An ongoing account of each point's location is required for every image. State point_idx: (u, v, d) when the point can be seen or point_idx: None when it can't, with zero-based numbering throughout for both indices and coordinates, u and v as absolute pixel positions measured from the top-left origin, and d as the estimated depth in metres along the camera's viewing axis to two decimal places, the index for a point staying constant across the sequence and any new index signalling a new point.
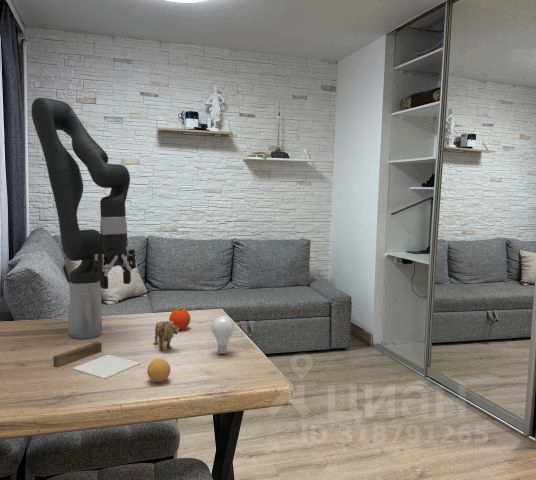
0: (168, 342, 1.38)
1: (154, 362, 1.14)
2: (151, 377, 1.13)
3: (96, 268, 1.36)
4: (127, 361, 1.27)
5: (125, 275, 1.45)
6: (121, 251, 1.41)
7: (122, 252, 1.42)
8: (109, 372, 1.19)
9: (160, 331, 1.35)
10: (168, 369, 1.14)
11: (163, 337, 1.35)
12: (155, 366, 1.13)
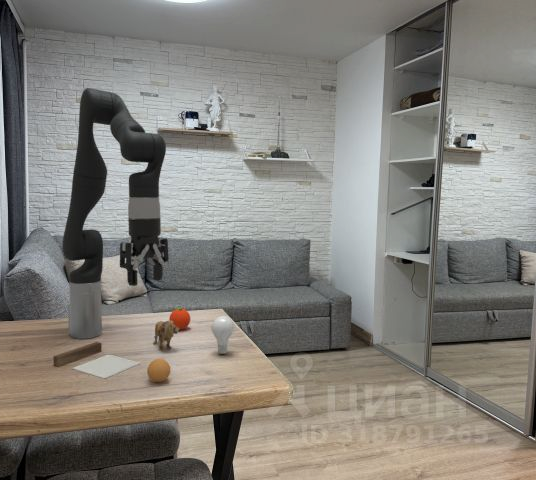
0: (168, 342, 1.39)
1: (154, 362, 1.14)
2: (151, 377, 1.13)
3: (123, 260, 1.10)
4: (127, 361, 1.27)
5: (156, 269, 1.19)
6: (152, 240, 1.16)
7: (154, 241, 1.16)
8: (109, 372, 1.19)
9: (160, 331, 1.36)
10: (168, 369, 1.14)
11: (163, 337, 1.35)
12: (155, 366, 1.13)
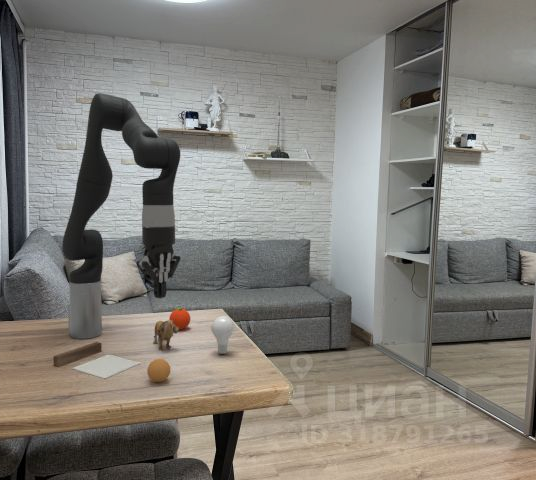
0: (168, 341, 1.39)
1: (154, 362, 1.14)
2: (151, 377, 1.13)
3: (147, 274, 1.10)
4: (127, 361, 1.27)
5: None
6: (167, 249, 1.12)
7: (168, 250, 1.13)
8: (109, 372, 1.19)
9: (160, 330, 1.36)
10: (168, 369, 1.14)
11: (163, 336, 1.35)
12: (155, 366, 1.13)
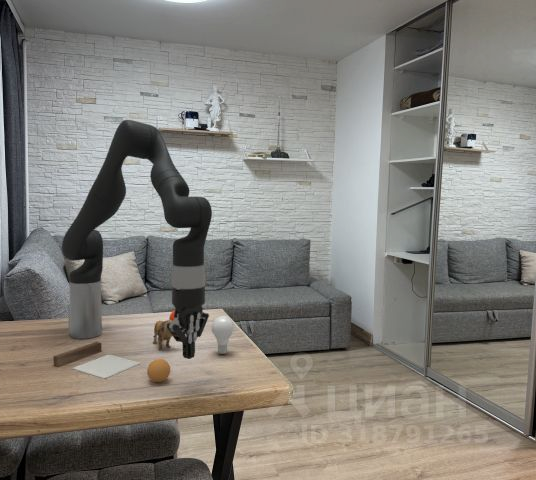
0: (167, 341, 1.39)
1: (154, 362, 1.14)
2: (151, 377, 1.13)
3: None
4: (127, 361, 1.27)
5: None
6: (196, 308, 1.10)
7: (197, 309, 1.10)
8: (109, 372, 1.19)
9: (159, 330, 1.36)
10: (168, 369, 1.14)
11: (162, 336, 1.36)
12: (155, 366, 1.13)
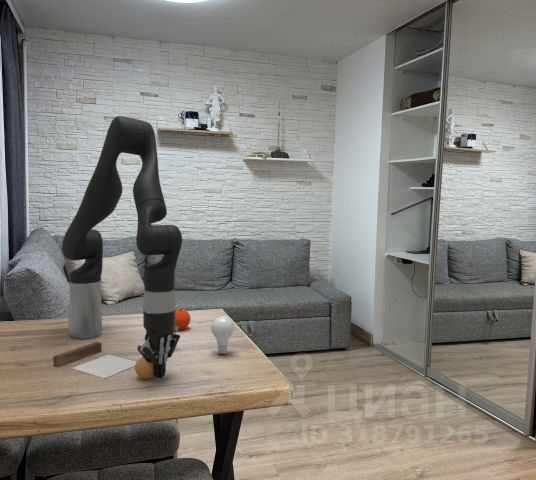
0: None
1: (135, 364, 1.17)
2: (141, 372, 1.14)
3: None
4: (127, 361, 1.27)
5: None
6: (167, 330, 1.15)
7: (168, 331, 1.16)
8: (109, 372, 1.19)
9: None
10: None
11: None
12: (136, 363, 1.16)
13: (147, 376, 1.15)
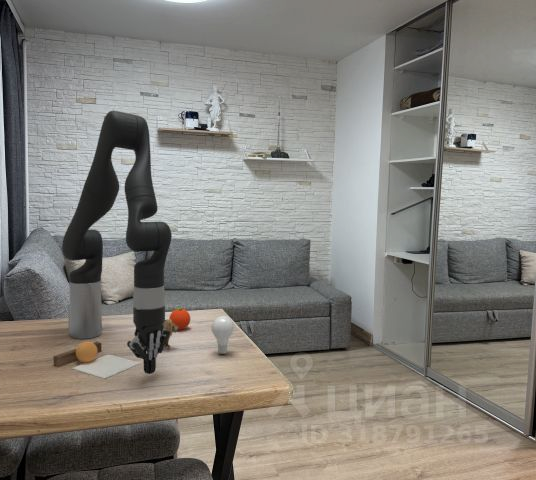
0: (167, 340, 1.40)
1: None
2: (80, 352, 1.24)
3: None
4: (127, 361, 1.27)
5: None
6: (157, 326, 1.16)
7: (158, 327, 1.17)
8: (109, 372, 1.19)
9: None
10: None
11: None
12: (77, 357, 1.26)
13: (86, 349, 1.24)
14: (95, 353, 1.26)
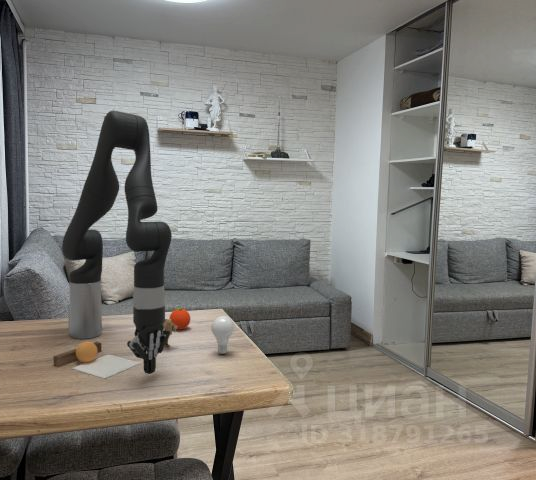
0: None
1: None
2: (80, 352, 1.24)
3: None
4: (127, 361, 1.27)
5: None
6: (157, 326, 1.16)
7: (158, 327, 1.17)
8: (109, 372, 1.19)
9: None
10: None
11: None
12: (77, 357, 1.26)
13: (86, 349, 1.24)
14: (95, 353, 1.26)
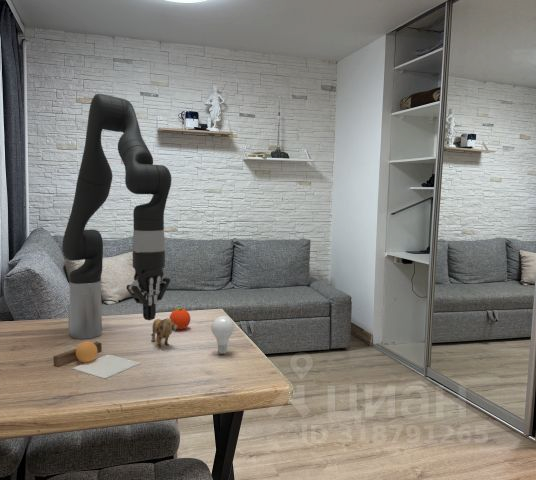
0: (166, 339, 1.41)
1: None
2: (80, 352, 1.24)
3: None
4: (127, 361, 1.27)
5: None
6: (157, 272, 1.15)
7: (158, 273, 1.15)
8: (109, 372, 1.19)
9: (158, 328, 1.38)
10: None
11: (161, 334, 1.37)
12: (77, 357, 1.26)
13: (86, 349, 1.24)
14: (95, 353, 1.26)
